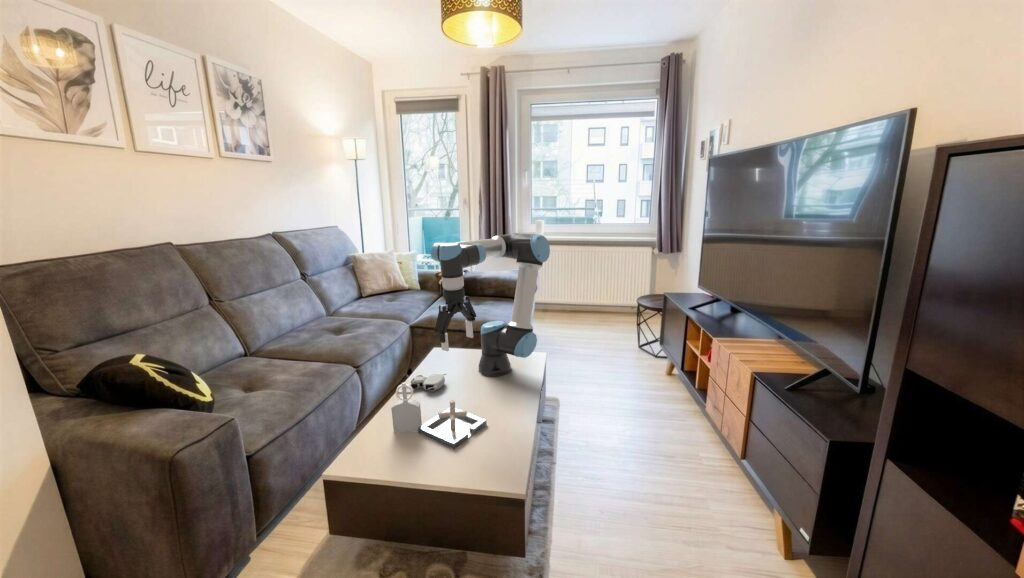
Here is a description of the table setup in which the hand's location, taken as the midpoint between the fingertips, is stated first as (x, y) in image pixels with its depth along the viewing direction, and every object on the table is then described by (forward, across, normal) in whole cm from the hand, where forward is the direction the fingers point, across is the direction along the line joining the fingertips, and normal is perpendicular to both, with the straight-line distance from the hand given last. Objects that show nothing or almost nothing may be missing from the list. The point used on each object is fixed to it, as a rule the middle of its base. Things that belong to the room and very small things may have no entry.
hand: (458, 343), depth 148 cm
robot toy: (+29, -7, -26) cm, 39 cm away
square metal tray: (+28, +11, +5) cm, 30 cm away
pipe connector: (+27, +11, +4) cm, 30 cm away
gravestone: (+27, +20, -9) cm, 35 cm away
